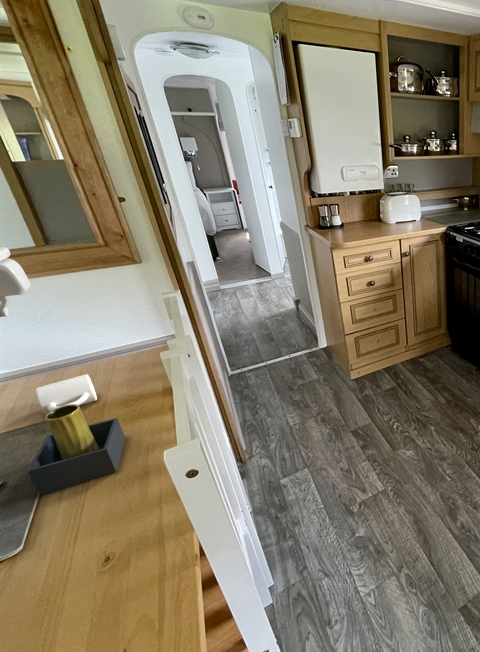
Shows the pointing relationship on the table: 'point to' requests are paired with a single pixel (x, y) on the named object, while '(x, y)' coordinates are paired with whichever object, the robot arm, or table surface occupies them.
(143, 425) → the table surface
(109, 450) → the bin
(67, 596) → the table surface
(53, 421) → the vase
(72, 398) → the mug
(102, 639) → the table surface
